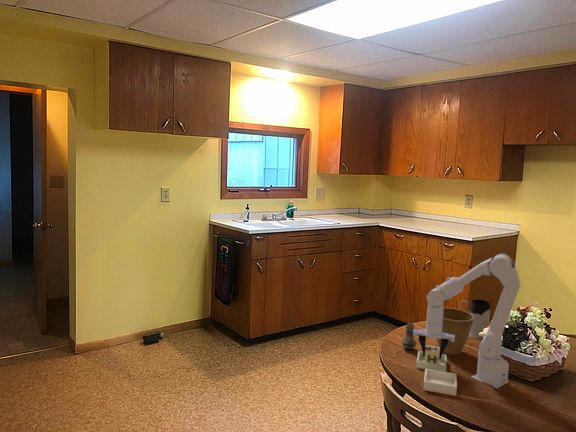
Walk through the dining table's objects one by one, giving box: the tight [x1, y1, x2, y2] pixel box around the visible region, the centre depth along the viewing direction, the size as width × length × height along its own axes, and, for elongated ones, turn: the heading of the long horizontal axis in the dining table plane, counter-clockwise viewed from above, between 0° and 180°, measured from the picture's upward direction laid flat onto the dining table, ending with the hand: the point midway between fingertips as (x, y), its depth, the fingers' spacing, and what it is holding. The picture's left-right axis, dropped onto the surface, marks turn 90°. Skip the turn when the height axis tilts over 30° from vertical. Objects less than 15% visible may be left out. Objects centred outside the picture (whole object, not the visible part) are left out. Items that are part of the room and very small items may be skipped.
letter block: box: [424, 344, 440, 364], centre depth 171 cm, size 5×5×6 cm
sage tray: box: [415, 350, 448, 372], centre depth 171 cm, size 10×10×3 cm
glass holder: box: [458, 299, 491, 340], centre depth 206 cm, size 9×14×15 cm, turn 42°
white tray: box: [423, 369, 458, 397], centre depth 156 cm, size 10×10×3 cm
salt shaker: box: [401, 320, 418, 351], centre depth 185 cm, size 6×6×12 cm
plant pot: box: [436, 307, 474, 356], centre depth 183 cm, size 15×15×16 cm
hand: (431, 357), depth 171 cm, fingers closed on letter block, 5 cm apart
